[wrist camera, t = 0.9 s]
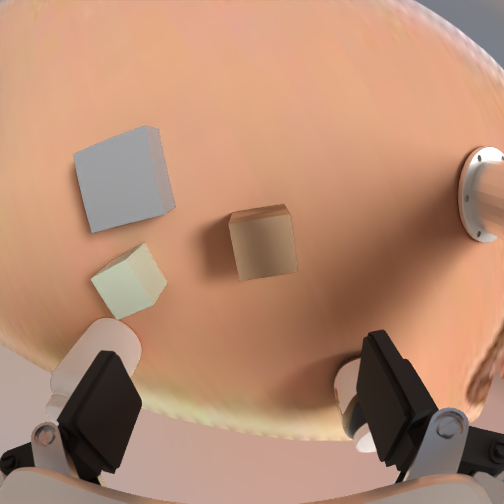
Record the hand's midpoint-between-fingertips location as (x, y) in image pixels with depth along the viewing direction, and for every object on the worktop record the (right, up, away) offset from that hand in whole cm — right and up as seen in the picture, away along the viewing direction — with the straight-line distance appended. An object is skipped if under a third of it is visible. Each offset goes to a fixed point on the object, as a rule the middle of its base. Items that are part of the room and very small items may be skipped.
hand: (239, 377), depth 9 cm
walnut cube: (+1, +7, +18) cm, 19 cm away
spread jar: (+17, -13, +25) cm, 33 cm away
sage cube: (-12, +2, +19) cm, 23 cm away
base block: (-12, +12, +16) cm, 23 cm away
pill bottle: (-17, -7, +23) cm, 30 cm away
